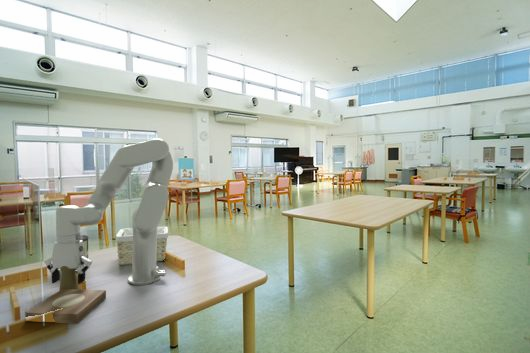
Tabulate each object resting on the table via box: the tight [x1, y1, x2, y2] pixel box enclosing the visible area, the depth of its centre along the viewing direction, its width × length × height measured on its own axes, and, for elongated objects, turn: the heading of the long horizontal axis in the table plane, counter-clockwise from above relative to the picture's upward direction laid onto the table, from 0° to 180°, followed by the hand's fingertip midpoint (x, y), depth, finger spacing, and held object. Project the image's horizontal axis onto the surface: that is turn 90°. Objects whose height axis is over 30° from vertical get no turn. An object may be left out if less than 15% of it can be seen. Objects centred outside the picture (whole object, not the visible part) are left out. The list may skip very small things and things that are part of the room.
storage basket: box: [115, 225, 169, 266], centre depth 144 cm, size 24×16×15 cm
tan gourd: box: [58, 266, 79, 291], centre depth 107 cm, size 6×6×11 cm
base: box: [24, 288, 107, 324], centre depth 95 cm, size 16×16×3 cm
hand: (68, 282), depth 107 cm, fingers open, 9 cm apart
